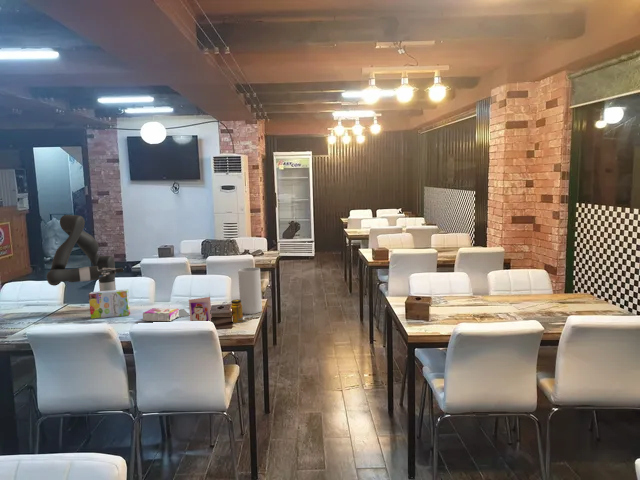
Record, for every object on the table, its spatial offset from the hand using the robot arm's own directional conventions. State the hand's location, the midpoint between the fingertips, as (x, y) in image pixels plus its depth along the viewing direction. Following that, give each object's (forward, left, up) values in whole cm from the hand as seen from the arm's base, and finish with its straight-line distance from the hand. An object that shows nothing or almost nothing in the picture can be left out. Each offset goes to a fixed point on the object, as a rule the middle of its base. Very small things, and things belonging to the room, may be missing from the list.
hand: (123, 269), depth 278 cm
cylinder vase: (+66, -20, -30) cm, 75 cm away
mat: (+23, 0, -30) cm, 37 cm away
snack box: (-7, +19, -30) cm, 36 cm away
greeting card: (+34, -33, -30) cm, 56 cm away
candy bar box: (+11, -2, -27) cm, 29 cm away
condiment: (+53, -36, -30) cm, 71 cm away
